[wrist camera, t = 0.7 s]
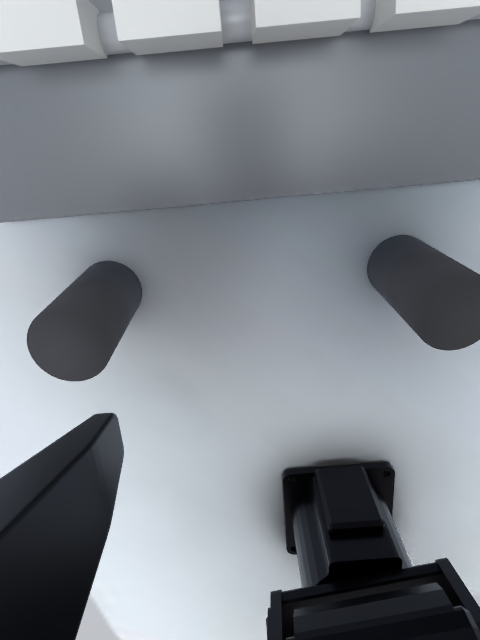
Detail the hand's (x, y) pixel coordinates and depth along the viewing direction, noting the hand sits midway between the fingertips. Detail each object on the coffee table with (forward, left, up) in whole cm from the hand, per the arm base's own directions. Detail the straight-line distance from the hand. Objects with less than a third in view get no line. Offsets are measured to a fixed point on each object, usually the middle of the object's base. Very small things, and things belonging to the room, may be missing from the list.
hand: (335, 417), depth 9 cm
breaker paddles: (+9, +1, -10) cm, 14 cm away
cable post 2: (-1, -6, -13) cm, 14 cm away
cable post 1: (-1, +8, -13) cm, 15 cm away
